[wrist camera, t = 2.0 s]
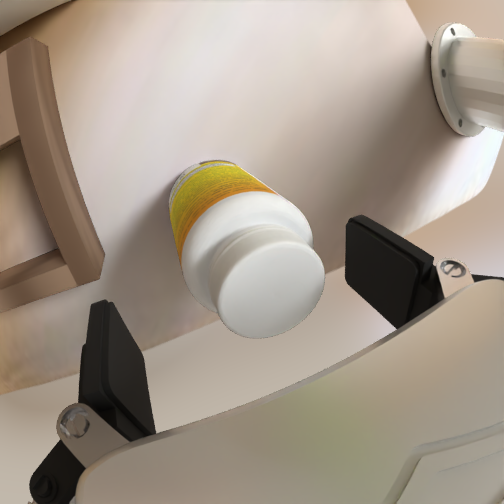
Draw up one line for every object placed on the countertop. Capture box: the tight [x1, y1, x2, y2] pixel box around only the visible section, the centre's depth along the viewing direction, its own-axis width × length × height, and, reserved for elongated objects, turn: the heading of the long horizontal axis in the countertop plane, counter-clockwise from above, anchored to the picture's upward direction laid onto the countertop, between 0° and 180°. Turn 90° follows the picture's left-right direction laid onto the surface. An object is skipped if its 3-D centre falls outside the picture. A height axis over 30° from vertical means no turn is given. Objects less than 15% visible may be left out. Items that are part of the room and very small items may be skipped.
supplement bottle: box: [169, 160, 325, 338], centre depth 14 cm, size 6×6×10 cm
